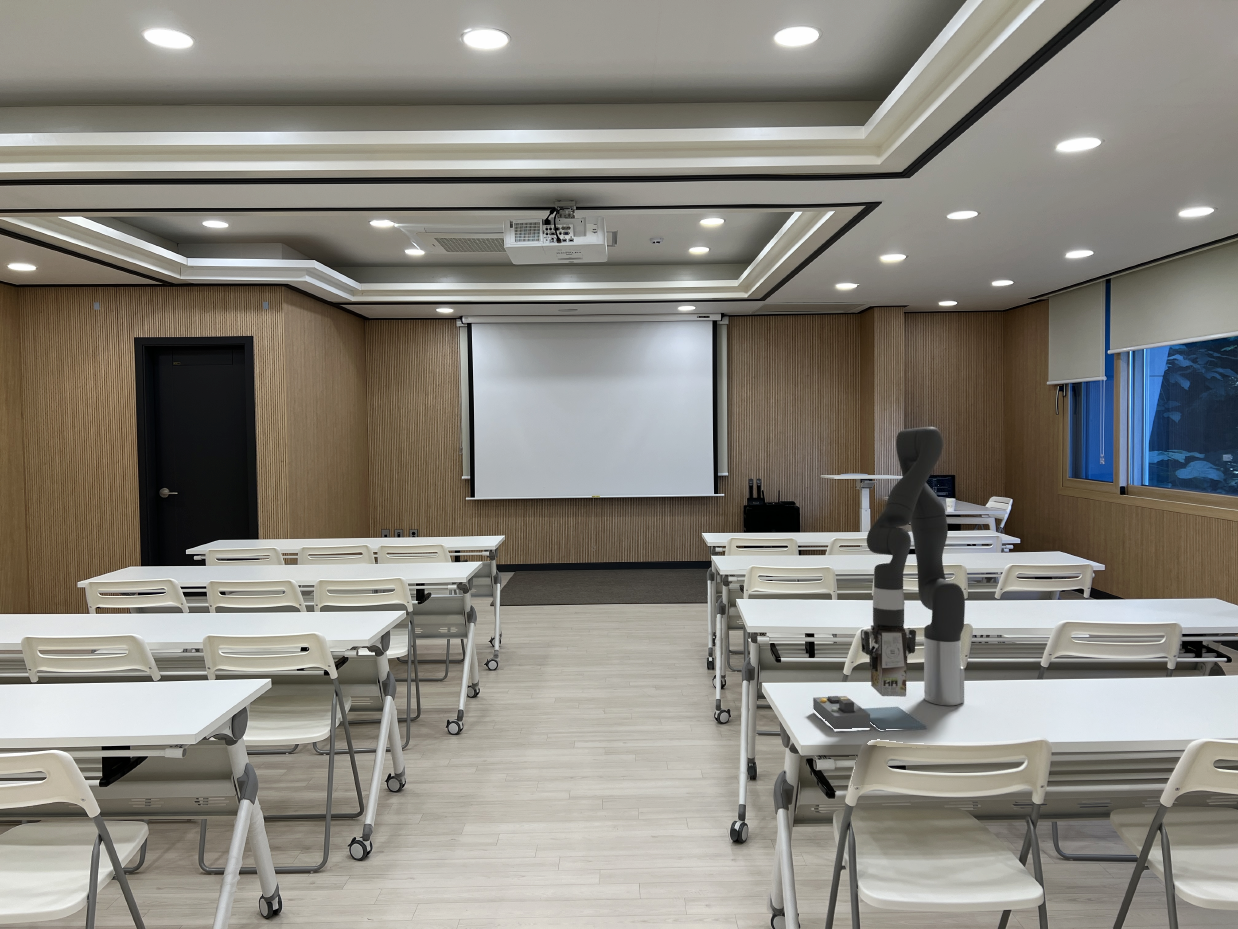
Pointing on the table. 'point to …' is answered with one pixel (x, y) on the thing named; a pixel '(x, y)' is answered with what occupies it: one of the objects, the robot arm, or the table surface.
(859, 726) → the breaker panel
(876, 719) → the mat
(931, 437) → the robot arm
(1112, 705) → the table surface
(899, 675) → the coffee box
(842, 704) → the block
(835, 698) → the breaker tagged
